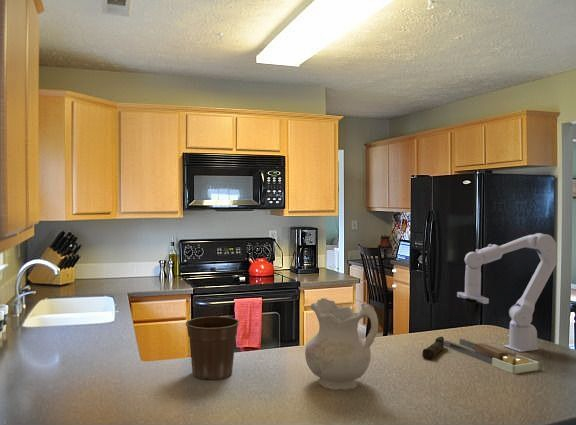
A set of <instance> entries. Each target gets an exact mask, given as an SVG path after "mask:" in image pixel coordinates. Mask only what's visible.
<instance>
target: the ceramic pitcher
mask: <svg viewBox="0 0 576 425" xmlns="http://www.w3.org/2000/svg"><path fill="white" fill-rule="evenodd" d="M310 309H311V310H312V312H314V313H315V315H316V318H317V320H318V324H319V327H318V328H319V329H318V332H317V333H316V335H314V336H313V337H312V338H311V339H309V340H308V341H307V343H306V345H305V352H304V354H305V361H306V362H305V363H306V364H307V366H308V369H309V370H310V371H311V372H312V374H314V376H316V377H318V378H319V379H318V384H319V386H320V387H321V388H325V389H327V390H329V391H345V390H346V391H348V390H354V389H355V388H356V387H358V386H359V384H358V382H357V381H356V380H358V379H360V378H362V376H363V375H364V374H365V373H366V371H367V370H368V368H369V366H370V364H371V358H372V357H371V348H370V347H371V345H373V343H374V341H375V339H376V336H377V335H378V332H379V318H378V315H377V312H376V311H375V307H374V306H373V303H372V304H371V303H362V304H361V309H360V311H359V312H356V311H354V310H353V309H352V308H351V307H350V306H345V305H344V306H341V305H340V306H338V305H337V304H336V301H334V300H331V299H328V298H327V297H326V298H325V297H324V298H320V299H318V300H317V301H316V302H315V303H314V302H313V303H311V304H310ZM363 318H368V319H369V321H370V329H369V331H368V334H367V336H366V338H365V340H364V339H363V338H362V337H361V336H360V335H359V333H358V332H359V331H358V328H359V321H360V320H361V319H363Z"/></svg>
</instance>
